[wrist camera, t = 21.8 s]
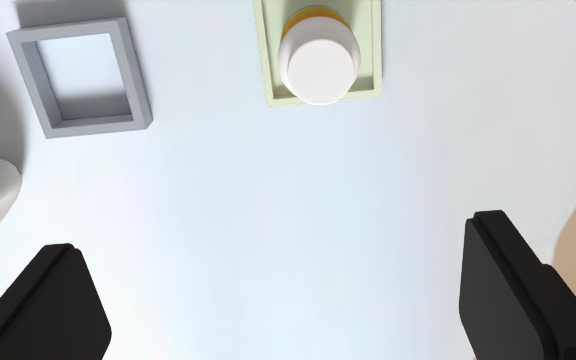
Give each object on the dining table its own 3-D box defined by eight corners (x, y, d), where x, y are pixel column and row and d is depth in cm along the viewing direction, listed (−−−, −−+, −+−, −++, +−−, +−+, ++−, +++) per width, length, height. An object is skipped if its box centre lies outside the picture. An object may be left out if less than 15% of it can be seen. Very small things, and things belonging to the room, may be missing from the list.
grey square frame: (20, 28, 36) (5, 32, 35) (125, 16, 36) (116, 20, 34) (57, 129, 40) (46, 138, 39) (153, 120, 40) (146, 129, 38)
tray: (252, -17, 34) (250, -16, 33) (376, -32, 34) (379, -31, 32) (268, 101, 39) (267, 107, 37) (379, 90, 38) (381, 96, 37)
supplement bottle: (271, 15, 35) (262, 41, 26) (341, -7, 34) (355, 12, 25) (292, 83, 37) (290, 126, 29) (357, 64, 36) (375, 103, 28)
